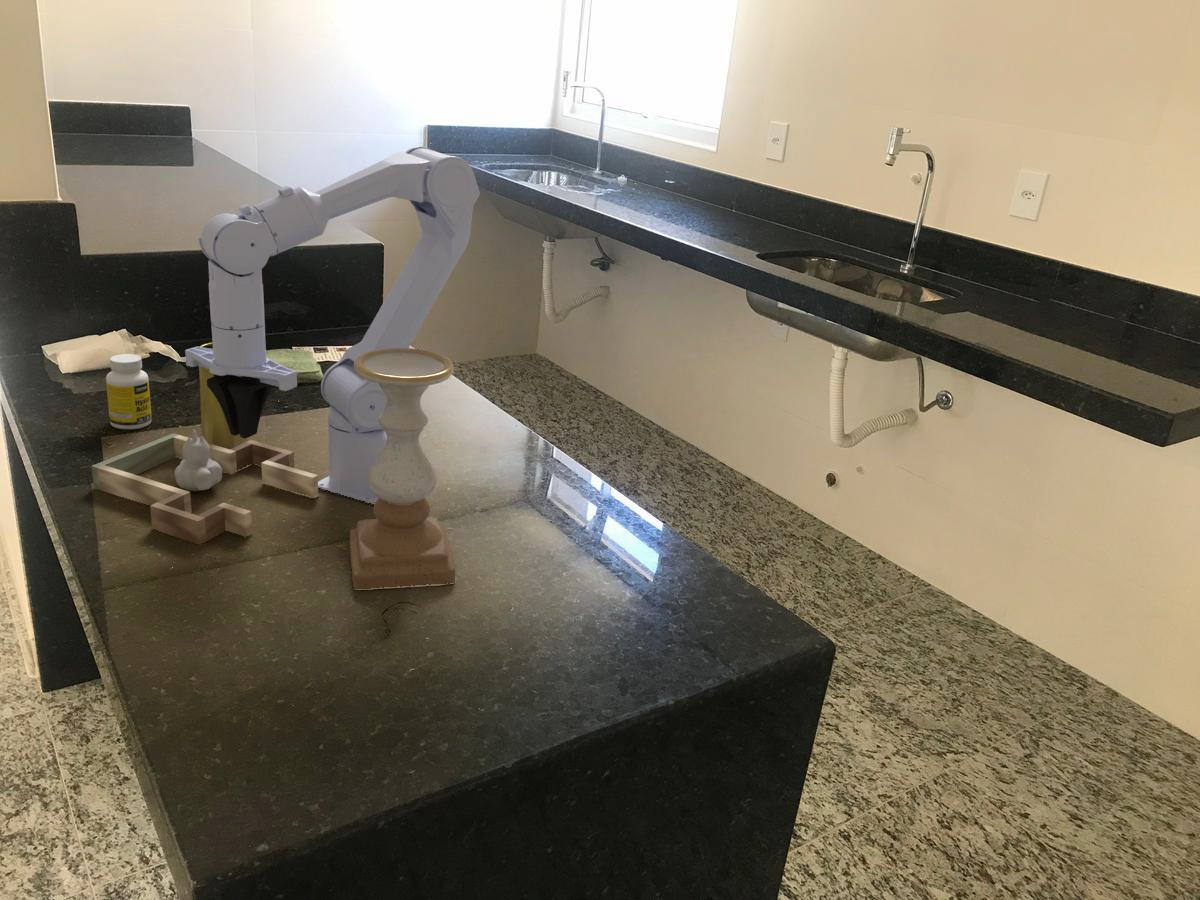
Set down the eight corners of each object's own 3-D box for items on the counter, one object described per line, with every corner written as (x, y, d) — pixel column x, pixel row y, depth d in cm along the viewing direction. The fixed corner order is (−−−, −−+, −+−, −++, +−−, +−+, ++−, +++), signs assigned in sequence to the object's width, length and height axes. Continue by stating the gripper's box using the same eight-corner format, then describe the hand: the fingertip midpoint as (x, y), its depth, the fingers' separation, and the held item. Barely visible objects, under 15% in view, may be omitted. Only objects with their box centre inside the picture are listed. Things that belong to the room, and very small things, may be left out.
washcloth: (327, 385, 162) (327, 367, 160) (214, 393, 154) (212, 373, 153) (311, 361, 172) (311, 343, 171) (204, 367, 164) (203, 348, 163)
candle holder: (353, 591, 104) (351, 379, 94) (349, 542, 113) (347, 345, 104) (456, 585, 107) (464, 379, 97) (443, 538, 116) (450, 346, 107)
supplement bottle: (142, 432, 136) (135, 365, 133) (103, 428, 136) (95, 362, 132) (158, 418, 141) (153, 354, 138) (121, 415, 141) (114, 350, 137)
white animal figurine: (216, 476, 126) (212, 419, 123) (229, 497, 121) (225, 438, 118) (171, 483, 123) (166, 424, 120) (182, 505, 118) (178, 444, 115)
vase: (218, 459, 130) (211, 357, 125) (192, 445, 134) (184, 346, 128) (257, 447, 135) (253, 349, 130) (231, 434, 138) (225, 338, 133)
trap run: (338, 485, 127) (337, 464, 125) (220, 552, 108) (219, 528, 107) (197, 444, 134) (195, 424, 133) (65, 500, 116) (62, 477, 115)
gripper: (161, 318, 109) (171, 430, 115) (265, 343, 105) (270, 459, 110) (208, 306, 115) (214, 413, 121) (307, 329, 111) (310, 439, 116)
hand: (244, 434), depth 116 cm, fingers closed
